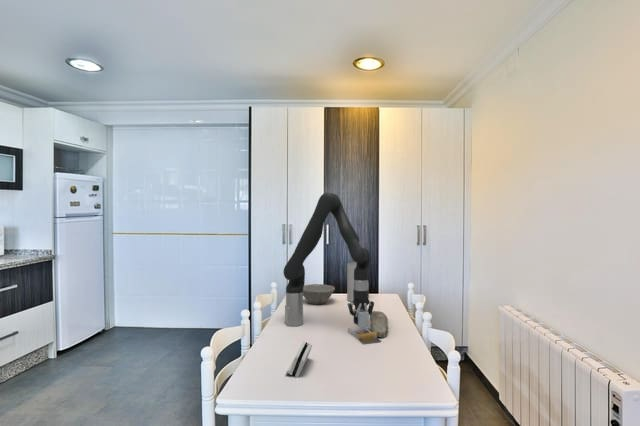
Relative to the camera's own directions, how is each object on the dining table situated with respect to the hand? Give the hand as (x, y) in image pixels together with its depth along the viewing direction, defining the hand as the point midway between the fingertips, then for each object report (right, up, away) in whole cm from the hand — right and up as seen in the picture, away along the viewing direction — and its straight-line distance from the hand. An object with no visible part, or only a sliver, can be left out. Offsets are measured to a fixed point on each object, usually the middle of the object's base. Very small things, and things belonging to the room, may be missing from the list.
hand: (361, 323), depth 169 cm
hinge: (-28, -6, -35) cm, 45 cm away
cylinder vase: (+5, -5, +64) cm, 64 cm away
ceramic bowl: (-22, -5, +58) cm, 62 cm away
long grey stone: (+11, -6, +12) cm, 17 cm away
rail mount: (+1, -6, -3) cm, 6 cm away
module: (0, -1, 0) cm, 1 cm away
